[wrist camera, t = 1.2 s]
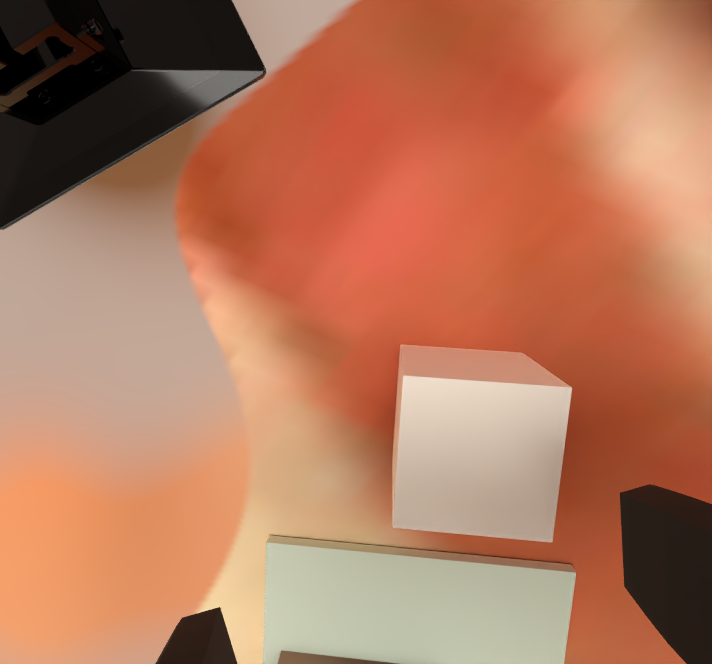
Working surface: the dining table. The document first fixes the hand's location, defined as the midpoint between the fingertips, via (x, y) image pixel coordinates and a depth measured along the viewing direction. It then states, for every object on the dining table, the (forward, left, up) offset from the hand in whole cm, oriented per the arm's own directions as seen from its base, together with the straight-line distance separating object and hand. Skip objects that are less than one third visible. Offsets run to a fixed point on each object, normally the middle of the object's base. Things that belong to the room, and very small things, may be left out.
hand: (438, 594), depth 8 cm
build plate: (+13, -12, -11) cm, 21 cm away
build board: (-1, +14, -10) cm, 17 cm away
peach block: (-2, 0, -10) cm, 10 cm away
